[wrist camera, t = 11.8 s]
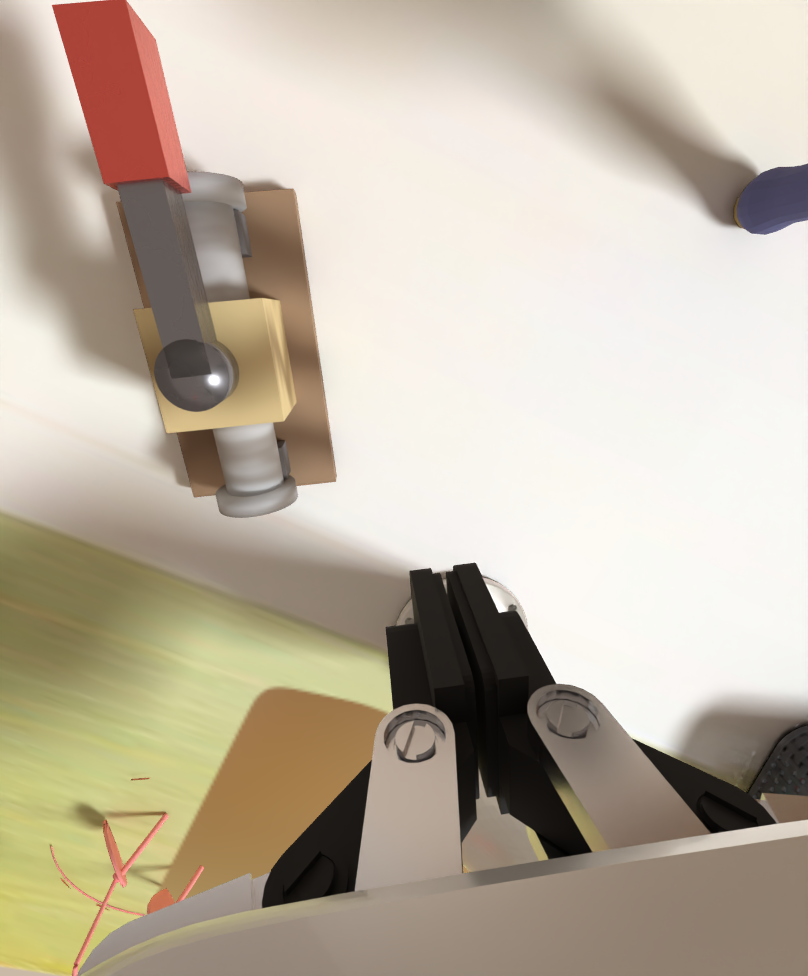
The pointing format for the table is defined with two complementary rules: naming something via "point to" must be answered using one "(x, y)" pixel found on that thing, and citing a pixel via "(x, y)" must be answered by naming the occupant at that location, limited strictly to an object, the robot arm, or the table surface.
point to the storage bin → (785, 767)
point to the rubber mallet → (773, 200)
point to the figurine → (157, 900)
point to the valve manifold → (250, 351)
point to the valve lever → (148, 190)
